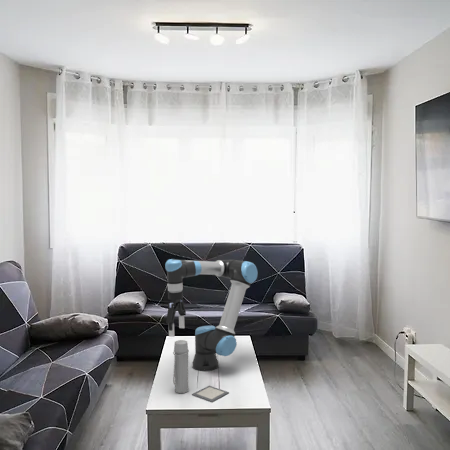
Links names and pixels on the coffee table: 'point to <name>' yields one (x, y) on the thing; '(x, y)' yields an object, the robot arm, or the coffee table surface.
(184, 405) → the coffee table surface
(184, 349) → the water bottle
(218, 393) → the coaster mat
